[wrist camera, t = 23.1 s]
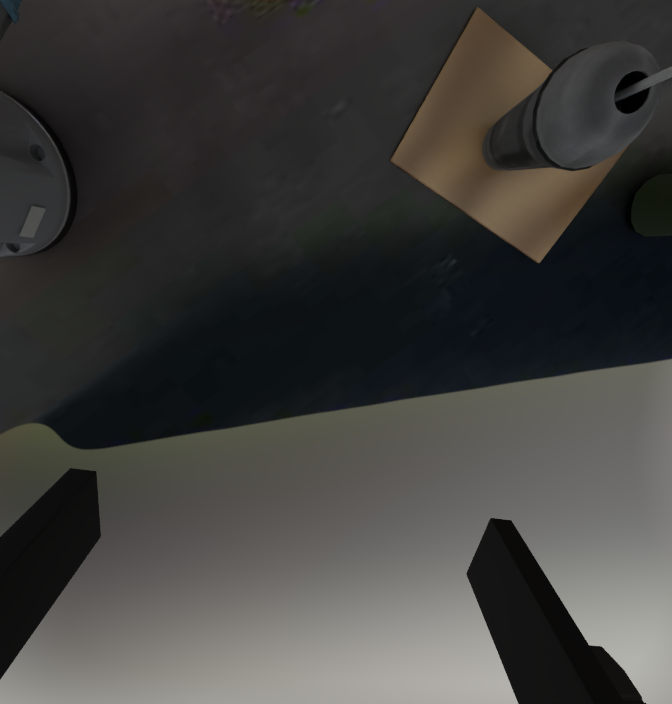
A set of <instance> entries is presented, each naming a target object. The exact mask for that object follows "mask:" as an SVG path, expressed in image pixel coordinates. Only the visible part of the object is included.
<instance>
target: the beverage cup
mask: <svg viewBox="0 0 672 704" xmlns="http://www.w3.org/2000/svg"><path fill="white" fill-rule="evenodd" d="M671 77H672V66H671V67H669V68H667V69H665V70H662V71H660V68H659V66H658V64H657V62H656V60H655V58H654V57H653V55H652V54H651V53H650V52H648V51H647V50H646V49H644V48H643V47H642V46H640V45H637V44H633V43H628V42H624V41H614V42H609V43H603V44H598V45H595V46H592V47H590V48H585V49H581V50H579V51H578V52H576V53H574V54H572V55H570V56H569V57H567V58H565V59H564V60H563V61H562V62H561V63H560V64H559V65H558V66H557V67H556V68H555V69H554V70H553V71H552V72H551V73H550V74H549V75H548V77H547V79H546V80H545V81H544V82H543V83H542V84H541V85H540V86H539V87H538V88H537V89H536V90H534V91H533V92H532V93H531V94H530V95H528V96H527V97H526V98H525V99H523V100H522V101H521V102H520V103H518V104H517V105H516V106H515V107H513V108H512V109H511V110H510V111H508V112H507V113H506V114H505V115H503V116H502V117H501V118H500V119H499V120H498V121H497V122H496V123H495V124H494V125H493V126H492V127H491V128H490V129H489V130H488V132H487V133H486V135H485V137H484V141H483V144H482V154H483V157H484V160H485V161H486V163H487V164H488V165H489V166H490V167H491V168H493V169H495V170H500V171H502V170H506V171H512V170H525V169H538V168H556V169H562V170H568V171H577V170H583V169H588V168H590V167H592V166H594V165H596V164H598V163H600V162H602V161H604V160H606V159H608V158H610V157H612V156H614V155H615V154H617V153H619V152H621V151H622V150H623V149H624V148H625V147H627V146H628V145H629V144H630V143H631V142H632V141H633V140H634V139H635V138H637V137H638V136H639V134H640V133H641V132H642V131H643V129H644V128H645V126H646V125H647V123H648V122H649V121H650V119H651V118H652V116H653V114H654V111H655V109H656V106H657V104H658V101H659V99H660V93H661V86H662V81H664V80H666V79H668V78H671Z"/></svg>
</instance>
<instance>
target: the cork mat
mask: <svg viewBox="0 0 672 704" xmlns="http://www.w3.org/2000/svg"><path fill="white" fill-rule="evenodd" d="M551 72H552V70H551V69H550V68H549V67H548V66H547V65H545V64H544V63H543V62H542V61H541V60H540V59H538V58H537V57H536V56H535V55H534V54H532V53H531V52H530V51H529V50H528V49H527V48H525V47H524V46H523V45H522V44H521V43H520V42H518V41H517V40H516V39H515V38H514V37H513V36H511V35H510V34H509V33H508V32H507V31H506V30H504V29H503V28H502V27H501V26H500V25H498V24H497V23H496V22H495V21H494V20H493V19H491V18H490V17H489V16H488V15H487V14H486V13H484V12H483V11H482V10H481V9H480V8H479V7H477V8H476V10H475V12H474V13H473V15H472V17H471V19H470V20H469V22H468V24H467V26H466V28H465V29H464V31H463V33H462V35H461V36H460V38H459V40H458V42H457V43H456V45H455V47H454V49H453V51H452V52H451V54H450V56H449V58H448V59H447V61H446V63H445V65H444V66H443V68H442V70H441V72H440V74H439V75H438V77H437V79H436V81H435V82H434V84H433V86H432V88H431V89H430V91H429V93H428V95H427V97H426V98H425V100H424V102H423V104H422V105H421V107H420V109H419V111H418V112H417V114H416V116H415V118H414V120H413V121H412V123H411V125H410V127H409V128H408V130H407V132H406V134H405V135H404V137H403V139H402V141H401V143H400V144H399V146H398V148H397V150H396V151H395V153H394V155H393V157H392V158H391V160H390V162H391V163H393V164H394V165H396V166H397V167H399V168H400V169H402V170H403V171H404V172H406V173H407V174H409V175H410V176H412V177H413V178H415V179H416V180H417V181H419V182H420V183H422V184H423V185H425V186H426V187H428V188H429V189H431V190H432V191H433V192H435V193H436V194H438V195H439V196H441V197H442V198H444V199H445V200H446V201H448V202H449V203H451V204H452V205H454V206H455V207H457V208H458V209H459V210H461V211H462V212H464V213H465V214H467V215H468V216H470V217H471V218H473V219H474V220H475V221H477V222H478V223H480V224H481V225H483V226H484V227H486V228H487V229H488V230H490V231H491V232H493V233H494V234H496V235H497V236H499V237H500V238H501V239H503V240H504V241H506V242H507V243H509V244H510V245H512V246H513V247H515V248H516V249H517V250H519V251H520V252H522V253H523V254H525V255H526V256H528V257H529V258H530V259H532V260H533V261H535V262H536V263H540V262H541V260H542V259H543V258H544V257H545V255H546V254H547V253H548V251H549V250H550V249H551V247H552V246H553V245H554V243H555V242H556V241H557V239H558V238H559V237H560V235H561V234H562V233H563V232H564V230H565V229H566V228H567V226H568V225H569V224H570V222H571V221H572V220H573V218H574V217H575V216H576V214H577V213H578V212H579V210H580V209H581V208H582V207H583V205H584V204H585V203H586V201H587V200H588V199H589V197H590V196H591V195H592V193H593V192H594V191H595V189H596V188H597V187H598V185H599V184H600V183H601V182H602V180H603V179H604V178H605V176H606V175H607V174H608V172H609V171H610V170H611V168H612V167H613V166H614V164H615V163H616V162H617V160H618V159H619V158H620V157H621V155H622V154H623V153H624V151H625V150H626V149H627V147H628V146H629V145H630V144H629V145H628V146H627V147H625V148H624V149H623V150H622V151H621V152H619V153H617V154H615V155H614V156H612V157H610V158H608V159H606V160H604V161H602V162H600V163H598V164H596V165H594V166H592V167H590V168H588V169H583V170H577V171H568V170H562V169H556V168H538V169H525V170H512V171H506V170H502V171H500V170H495V169H493V168H491V167H490V166H489V165H488V164H487V163H486V161H485V160H484V157H483V154H482V144H483V141H484V137H485V135H486V133H487V132H488V130H489V129H490V128H491V127H492V126H493V125H494V124H495V123H496V122H497V121H498V120H499V119H500V118H501V117H502V116H503V115H505V114H506V113H507V112H508V111H510V110H511V109H512V108H513V107H515V106H516V105H517V104H518V103H520V102H521V101H522V100H523V99H525V98H526V97H527V96H528V95H530V94H531V93H532V92H533V91H534V90H536V89H537V88H538V87H539V86H540V85H541V84H542V83H543V82H544V81H545V80H546V79H547V77H548V75H549V74H550V73H551Z"/></svg>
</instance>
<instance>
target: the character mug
mask: <svg viewBox="0 0 672 704" xmlns="http://www.w3.org/2000/svg"><path fill="white" fill-rule="evenodd" d="M631 222H632V224H633V227H634V229H635V231H636V232H637V233H639V234H641V235H643V236H644V237H650V236H669V235H672V174H659V175H657V176H655V177H653V178H651V179H650V180H648V181H646V182H645V183H644V184H643V186H642V187H641V188H640V189H639V190H638V191H637V192H636V194H635V197H634V200H633V204H632V207H631Z"/></svg>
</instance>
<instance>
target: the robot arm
mask: <svg viewBox="0 0 672 704" xmlns="http://www.w3.org/2000/svg"><path fill="white" fill-rule="evenodd" d="M21 2H22V0H0V40H1V38H2V37H3V35H4V33H5V32H6V30H7V29H8V27H9V25H10V24H11V22H12V21H13V22H14V23H15V24H16V23H17V21H18V20H19V13H18V8H19V6H20V4H21ZM76 202H77V193H76V183H75V178H74V174H73V170H72V167H71V164H70V162H69V159H68V157H67V155H66V153H65V151H64V149H63V147H62V145H61V144H60V142H59V140H58V139H57V137H56V136H55V134H54V133H53V132H52V130H51V129H50V128H49V127H48V126H47V124H46V123H45V122H44V121H43V120H42V119H41V118H40V117H39V116H38V115H37V114H36V113H35V112H34V111H33V110H31V109H30V108H29V107H28V106H26V105H25V104H24V103H22V102H21V101H19V100H18V99H16V98H15V97H13V96H11V95H9V94H7V93H5V92H3V91H1V90H0V256H2V257H17V256H25V255H33V254H37V253H40V252H43V251H45V250H47V249H49V248H51V247H52V246H54V245H55V244H57V243H58V242H59V241H60V240H61V239H62V238H63V237H64V236H65V234H66V233H67V231H68V230H69V228H70V226H71V224H72V221H73V218H74V215H75V211H76ZM100 536H101V532H100V518H99V504H98V491H97V476H96V471H89V470H80V469H72V468H71V469H69V470H68V471H67V472H66V473H65V474H64V475H63V476H62V477H61V478H60V479H59V480H58V481H57V482H56V483H55V484H54V485H53V486H52V487H51V488H50V489H49V490H48V491H47V492H46V493H45V494H44V495H43V496H42V497H41V498H40V499H39V500H38V501H37V502H36V503H35V504H34V505H33V506H32V507H30V508H29V509H28V510H27V511H26V513H24V514H23V515H22V516H21V517H20V518H19V519H18V520H17V521H16V522H15V523H14V524H13V525H12V526H11V527H10V528H9V529H8V530H7V531H6V532H5V533H4V534H3V535H2V536H1V537H0V679H1V678H2V676H3V675H4V673H5V672H6V671H7V669H8V668H9V666H10V665H11V663H12V662H13V661H14V659H15V658H16V656H17V655H18V653H19V652H20V650H21V649H22V648H23V646H24V645H25V643H26V642H27V641H28V639H29V638H30V636H31V635H32V634H33V632H34V630H35V629H36V628H37V626H38V625H39V624H40V622H41V621H42V619H43V618H44V616H45V615H46V614H47V612H48V611H49V609H50V608H51V607H52V605H53V604H54V602H55V601H56V599H57V598H58V596H59V595H60V594H61V592H62V591H63V589H64V588H65V587H66V585H67V584H68V582H69V581H70V579H71V578H72V577H73V575H74V574H75V572H76V571H77V570H78V568H79V567H80V565H81V564H82V562H83V561H84V560H85V558H86V557H87V555H88V554H89V552H90V551H91V549H92V548H93V547H94V545H95V544H96V543H97V541H98V540H99V538H100ZM467 577H468V579H469V582H470V584H471V586H472V589H473V591H474V594H475V596H476V599H477V601H478V604H479V606H480V609H481V611H482V614H483V616H484V619H485V621H486V623H487V626H488V629H489V631H490V634H491V636H492V639H493V641H494V644H495V646H496V649H497V651H498V654H499V656H500V659H501V661H502V664H503V666H504V669H505V671H506V673H507V676H508V679H509V681H510V683H511V686H512V689H513V691H514V693H515V696H516V698H517V701H518V703H519V704H646V703H644V702H643V701H642V697H641V695H640V694H639V692H638V691H637V689H636V688H635V686H634V685H633V683H632V682H631V680H630V679H629V677H628V676H627V674H626V673H625V671H624V670H623V669H622V668H621V667H620V666H619V665H618V663H617V662H616V661H615V660H614V659H613V658H612V657H611V656H610V655H609V654H608V653H607V652H606V651H605V650H604V649H603V648H602V647H600V646H589V645H588V643H587V641H586V640H585V638H584V637H583V635H582V633H581V632H580V630H579V629H578V627H577V626H576V624H575V622H574V621H573V619H572V618H571V616H570V614H569V613H568V611H567V609H566V608H565V606H564V605H563V603H562V601H561V600H560V598H559V597H558V595H557V593H556V592H555V590H554V588H553V587H552V585H551V584H550V582H549V580H548V579H547V577H546V576H545V574H544V572H543V571H542V569H541V568H540V566H539V564H538V563H537V561H536V560H535V558H534V556H533V555H532V553H531V551H530V550H529V548H528V547H527V545H526V543H525V542H524V540H523V539H522V537H521V535H520V534H519V532H518V531H517V529H516V527H515V526H514V524H513V523H512V521H511V520H502V519H494V518H491V519H490V521H489V523H488V525H487V528H486V530H485V532H484V535H483V537H482V539H481V541H480V544H479V546H478V548H477V551H476V553H475V555H474V557H473V560H472V562H471V564H470V567H469V569H468V571H467Z"/></svg>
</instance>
